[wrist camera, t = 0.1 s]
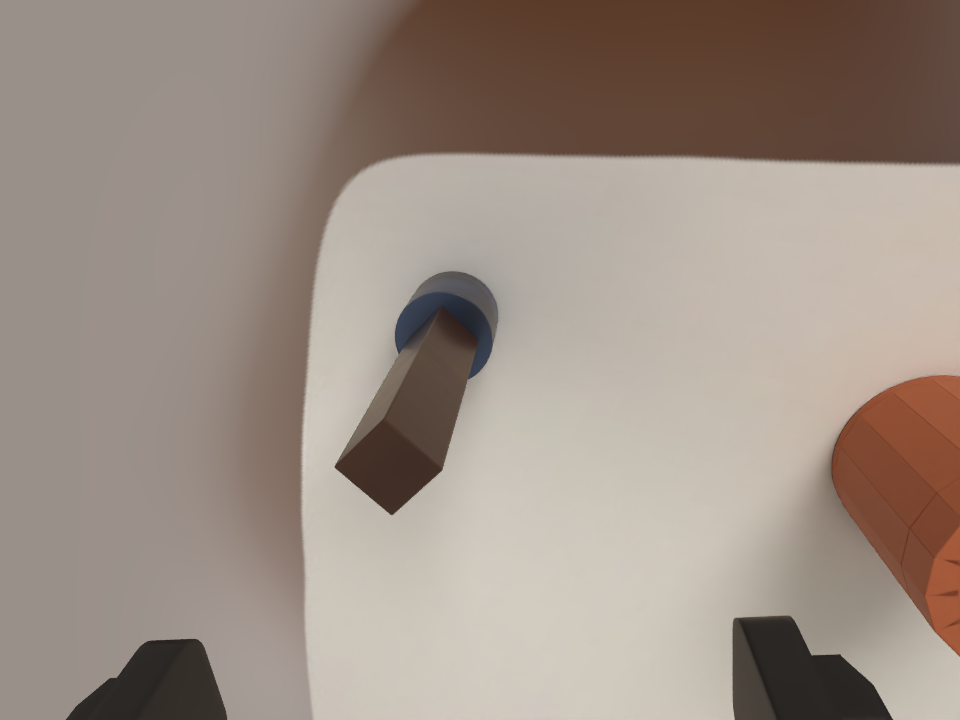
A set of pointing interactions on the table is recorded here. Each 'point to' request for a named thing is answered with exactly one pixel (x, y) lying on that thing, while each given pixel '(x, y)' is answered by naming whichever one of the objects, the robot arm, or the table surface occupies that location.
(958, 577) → the jar
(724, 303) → the table surface
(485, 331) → the brush
